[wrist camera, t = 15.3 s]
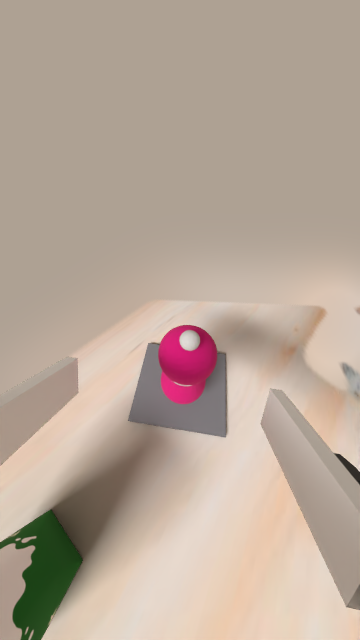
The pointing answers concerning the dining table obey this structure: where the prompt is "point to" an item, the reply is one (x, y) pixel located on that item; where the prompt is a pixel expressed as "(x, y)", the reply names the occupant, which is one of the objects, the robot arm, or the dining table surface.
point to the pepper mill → (186, 362)
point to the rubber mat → (191, 417)
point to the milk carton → (34, 577)
